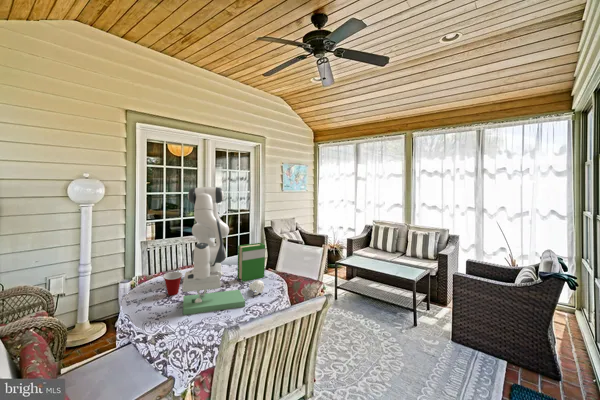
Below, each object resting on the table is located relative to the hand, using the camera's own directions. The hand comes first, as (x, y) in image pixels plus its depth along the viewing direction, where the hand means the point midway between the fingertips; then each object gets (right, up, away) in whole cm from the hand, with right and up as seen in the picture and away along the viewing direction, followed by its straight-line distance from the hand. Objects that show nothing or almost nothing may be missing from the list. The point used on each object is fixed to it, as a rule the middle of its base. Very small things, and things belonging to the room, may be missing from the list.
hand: (201, 297), depth 160 cm
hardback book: (+20, -2, +47) cm, 51 cm away
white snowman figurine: (+27, -4, +21) cm, 34 cm away
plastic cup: (-23, -3, +15) cm, 27 cm away
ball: (-2, -2, -1) cm, 3 cm away
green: (+6, -5, +3) cm, 8 cm away
